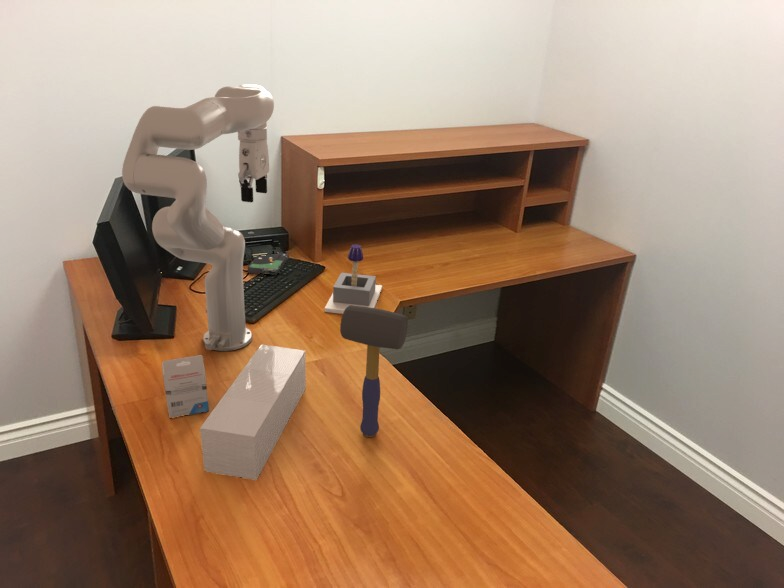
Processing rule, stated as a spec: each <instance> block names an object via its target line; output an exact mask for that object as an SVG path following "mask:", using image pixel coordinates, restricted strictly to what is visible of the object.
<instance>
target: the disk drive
mask: <svg viewBox="0 0 784 588" xmlns="http://www.w3.org/2000/svg"><path fill="white" fill-rule="evenodd" d="M278 253H279V254H271V255H266V256H255V258H254V259H253V260H252V261H251V262H250V263H249V264H248V266H247V273H248V274H255V275H261V274H260V273H262V272H264V271H272V272H278V271H279V269H280V268H281V267H282V266H283V264H284V263H285V262H286V260H288V259H289V260H290V254H289V253H285V252H284V253H283V252H278ZM289 260H288V261H289Z"/></svg>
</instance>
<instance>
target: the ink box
mask: <svg viewBox="0 0 784 588" xmlns="http://www.w3.org/2000/svg"><path fill="white" fill-rule="evenodd" d="M162 361H163V362H161V367H162V368H161V369H162V379H163V384H164V385H163V386H164V391H165V398H166V404H167V405H166V406H167V407H166V408H167V411H168V417H169V419H170V418H171V417H177V416H182V415H188V416H191V415H190V414H193V415H196V414H195V413H198V414H202V413H201V412H203V413H207V411H208V412H210V409H209V397H208V387H207V379H206V370H205V365H204V364H205V363H204V356H203V355H202V354H198V355H194V356H186V357H179V358H175V359H168V360H162ZM177 418H178V417H177Z"/></svg>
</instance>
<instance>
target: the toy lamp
mask: <svg viewBox="0 0 784 588" xmlns="http://www.w3.org/2000/svg"><path fill="white" fill-rule="evenodd" d="M349 248H350V249H349V251H348V254H347V259H348V260H349V261H351V262H352V265H351V266H352V269H351V271H352V272H351V274H352V283H351V286H354V287H356V286H357V276H358V271H359V269H358V267H359V262H362V261H363V260H364V254H363V249H362V246H361V245H360V244H352V245H351V246H350V247H349Z"/></svg>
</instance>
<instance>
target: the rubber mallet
mask: <svg viewBox="0 0 784 588" xmlns="http://www.w3.org/2000/svg"><path fill="white" fill-rule="evenodd" d="M408 323H409V321H408V317H407V316H406V315H404V314H401V313H397V312H394V311H390V310H385V309H382V308H376V307H375V308H370V307H362V306H352V305H350V306H348V307H347V308H346V309H345V310H344V313H343V314H342V316H341V320H340V326H339V327H340V328H339V330H340V335H341V338H342V339H344V340H347V341H351V342H355V343H358V344H363V345H366V347H367V348H366V365H365V366H366V367H365V369H366V370H365V376H364V378H363V384H362V389H361V390H362V391H361V392H362V393H361V401H362V419H361V421H360V422H361V423H360V432H361V433H362V435H363V436H364V437H367V438H373V437H375V436H376V435H377V434H378V432H379V429H380V426H379V425H380V424H379V419H378V418H379V417H378V416H379V405H380V401H381V383H380V382H381V381H380V376H379V369H380V368H379V366H380V348H384V349H392V350H400V349H402V348H403V346H404V344H405V341H406V338H407V334H408V327H409V325H408Z"/></svg>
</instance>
